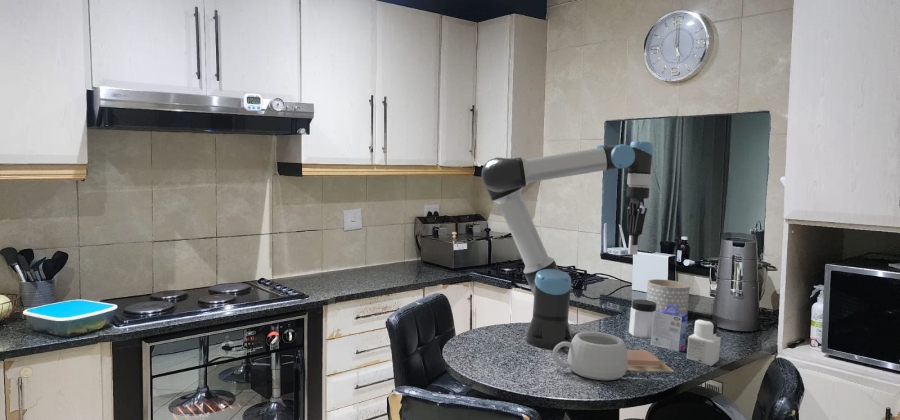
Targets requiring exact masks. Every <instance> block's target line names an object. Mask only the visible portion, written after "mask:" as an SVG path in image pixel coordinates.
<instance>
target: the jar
mask: <svg viewBox="0 0 900 420" xmlns="http://www.w3.org/2000/svg"><path fill="white" fill-rule="evenodd" d="M631 305H632V306H631V307H630V315H629V325H628V333H629V334H630V335H632V336H633V337H637V338H650V339H651V336H652V326H653V316H654V311H656V303H655V302H653V301H649V300H646V299H632V304H631Z"/></svg>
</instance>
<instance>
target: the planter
mask: <svg viewBox="0 0 900 420" xmlns="http://www.w3.org/2000/svg"><path fill="white" fill-rule="evenodd" d="M690 287H691V286H690V284H688V283H685V282H682V281H677V280H670V279H650V280H647V287H646V288H647V290H646V299H645V300H649V301H653V302H655V303H656V310H659V309H661V310H666V308H667V306H668V304H671V305H675V306H678V310H677V313H682V314H687V315H688V311H689V300H690V299H689V298H690ZM669 309H673V310H676V308H674V307H669Z"/></svg>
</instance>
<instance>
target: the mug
mask: <svg viewBox="0 0 900 420" xmlns="http://www.w3.org/2000/svg"><path fill="white" fill-rule="evenodd" d="M563 346H567V347H568V348H569V350H568V353H567V354H568V355H567V361H563V360H561V359H560V358H559V356H558V352H559V350H560V349H562V348H561V347H563ZM567 347H566V348H567ZM563 348H564V347H563ZM627 350H628V349H627V345H626V344H625V341H624V340H623V339H622V338H620V337H618V336H616V335H613V334H609V333H606V332H599V331H598V332H597V331H583V332H579V333H575V335H574V337H572V342H571V343H570V342H561V343H559V344H557V345H556V346H555V348H554V349H553V348H552V359H553V361H554V362H555V363H556V364H557V365H559V366H561V367H565V368H567V367H568V368H569V369H571V371H572V372H573V373H574V374H576V375H578V376H581V377H583V378H587V379H589V380H591V379H592V380H596V381H597V380H598V381H614V380H619V379H621V378H622V377H623V376H625V375H626V373H627V371H628V370H627V367H628V359H627Z"/></svg>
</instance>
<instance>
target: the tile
mask: <svg viewBox="0 0 900 420" xmlns="http://www.w3.org/2000/svg"><path fill="white" fill-rule="evenodd" d="M649 352H650V351H648V350H647V349H646V350H645V349H627V359H628V366H648V367H659V364H660V361H659V360H660V359H659V358H658V357H657V358H658V359H659V360H658V359H657V358H655V357H654V356H655V355H654V354H653V353H652V354H653V355H654V356H653V355H652V354H650V353H651V352H650V353H649Z"/></svg>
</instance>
